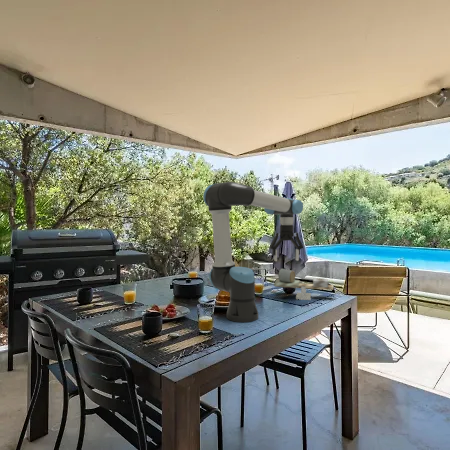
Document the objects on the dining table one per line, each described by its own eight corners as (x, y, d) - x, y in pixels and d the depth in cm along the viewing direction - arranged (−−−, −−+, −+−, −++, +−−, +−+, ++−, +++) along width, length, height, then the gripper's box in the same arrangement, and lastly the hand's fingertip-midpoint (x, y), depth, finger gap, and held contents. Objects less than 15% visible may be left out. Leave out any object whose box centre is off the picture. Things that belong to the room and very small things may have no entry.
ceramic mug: (290, 283, 191) (290, 270, 191) (277, 282, 196) (278, 269, 196) (298, 281, 200) (298, 268, 200) (285, 279, 204) (285, 267, 204)
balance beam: (273, 288, 191) (273, 280, 191) (276, 283, 206) (276, 275, 206) (333, 291, 183) (333, 283, 182) (332, 285, 197) (332, 277, 197)
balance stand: (296, 299, 190) (295, 286, 190) (297, 294, 201) (297, 282, 201) (310, 300, 188) (310, 287, 187) (310, 295, 199) (310, 283, 199)
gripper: (303, 224, 201) (303, 259, 201) (264, 224, 195) (264, 260, 196) (309, 224, 193) (308, 260, 194) (268, 224, 188) (268, 262, 188)
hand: (286, 260), depth 195 cm, fingers open, 13 cm apart
